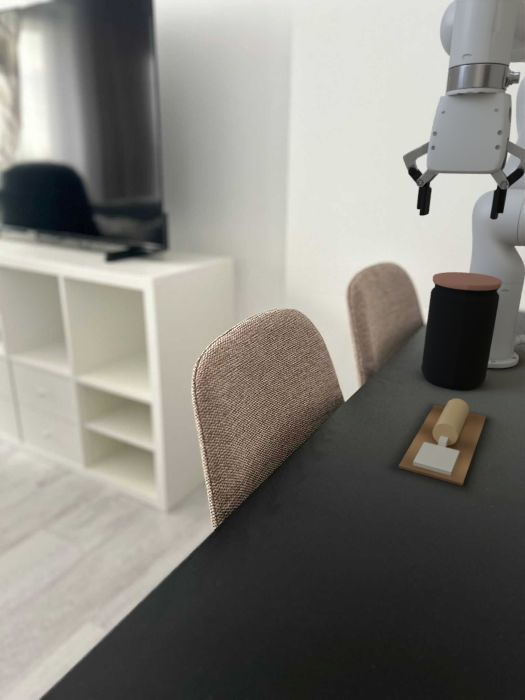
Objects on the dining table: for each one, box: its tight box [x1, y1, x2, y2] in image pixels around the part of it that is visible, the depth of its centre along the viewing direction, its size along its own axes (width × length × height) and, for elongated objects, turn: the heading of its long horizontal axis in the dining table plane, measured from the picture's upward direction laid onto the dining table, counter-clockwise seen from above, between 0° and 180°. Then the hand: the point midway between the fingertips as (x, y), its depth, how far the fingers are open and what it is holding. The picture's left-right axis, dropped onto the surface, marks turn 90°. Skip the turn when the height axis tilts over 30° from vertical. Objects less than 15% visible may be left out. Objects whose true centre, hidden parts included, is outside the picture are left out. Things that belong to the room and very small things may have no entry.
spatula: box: [413, 398, 470, 476], centre depth 68 cm, size 16×4×3 cm, turn 150°
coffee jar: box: [420, 271, 502, 391], centre depth 87 cm, size 11×11×18 cm
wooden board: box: [398, 404, 487, 487], centre depth 69 cm, size 20×8×1 cm, turn 150°
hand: (457, 216), depth 74 cm, fingers open, 9 cm apart
